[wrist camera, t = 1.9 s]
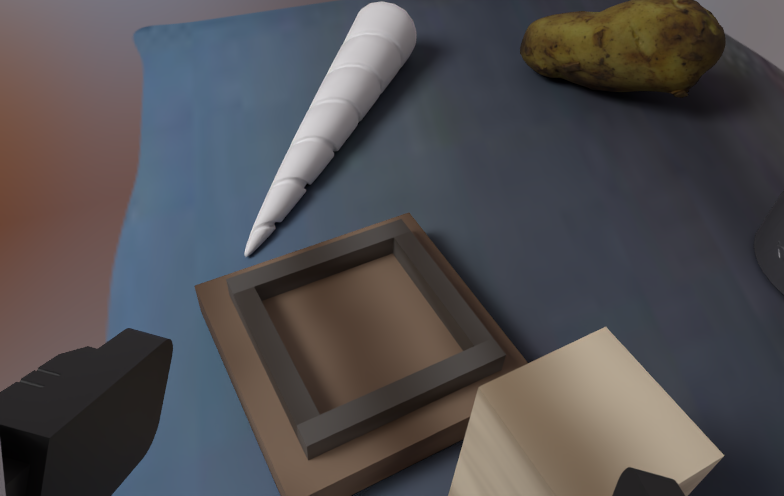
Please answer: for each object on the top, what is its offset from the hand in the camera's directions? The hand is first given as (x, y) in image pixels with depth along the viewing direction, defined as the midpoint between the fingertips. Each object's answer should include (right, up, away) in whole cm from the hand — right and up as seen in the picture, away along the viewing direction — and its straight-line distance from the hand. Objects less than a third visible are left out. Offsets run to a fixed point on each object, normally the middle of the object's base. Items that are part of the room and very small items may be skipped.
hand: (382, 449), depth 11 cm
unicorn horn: (-3, +11, +33) cm, 35 cm away
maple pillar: (+6, -8, +15) cm, 18 cm away
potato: (+16, +15, +38) cm, 44 cm away
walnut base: (-1, -2, +21) cm, 21 cm away
